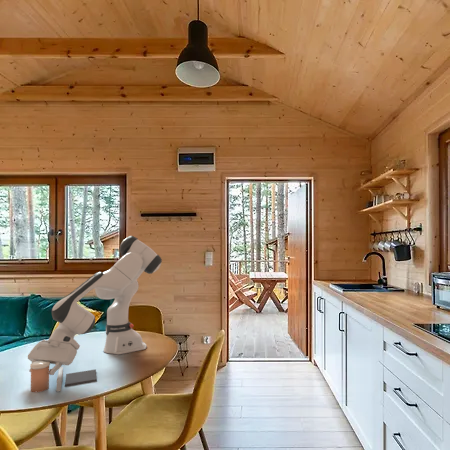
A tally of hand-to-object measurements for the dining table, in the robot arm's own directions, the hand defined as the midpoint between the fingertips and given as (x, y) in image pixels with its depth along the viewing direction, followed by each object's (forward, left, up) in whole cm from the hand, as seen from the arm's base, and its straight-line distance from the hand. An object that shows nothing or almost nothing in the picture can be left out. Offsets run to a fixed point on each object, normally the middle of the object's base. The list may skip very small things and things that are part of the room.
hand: (40, 373), depth 130 cm
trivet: (-15, -4, -6) cm, 16 cm away
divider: (-7, -2, -6) cm, 9 cm away
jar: (0, 0, -6) cm, 6 cm away
